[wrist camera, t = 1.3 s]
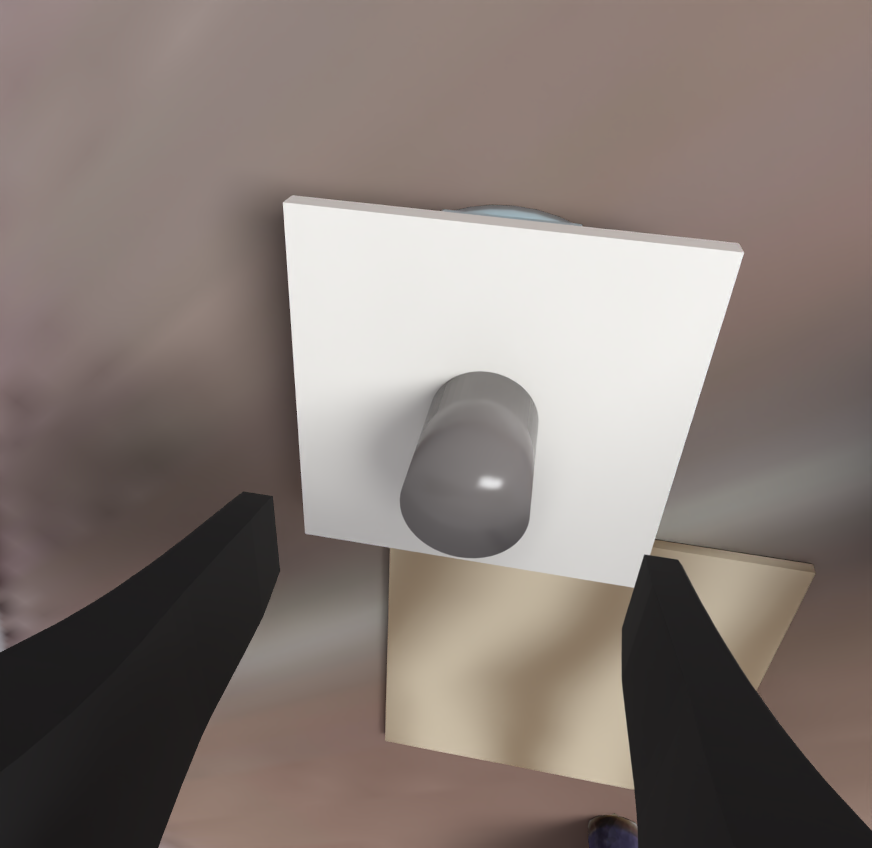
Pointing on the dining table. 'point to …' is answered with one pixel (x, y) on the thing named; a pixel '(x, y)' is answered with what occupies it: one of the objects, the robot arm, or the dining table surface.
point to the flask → (612, 832)
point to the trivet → (551, 654)
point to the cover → (496, 381)
